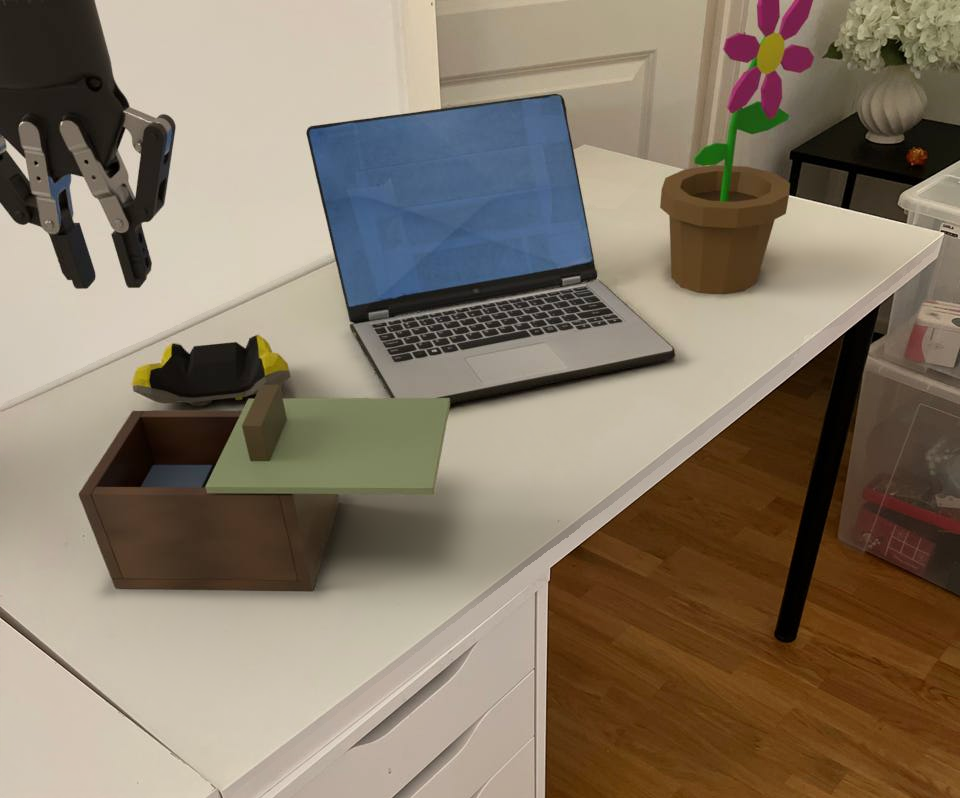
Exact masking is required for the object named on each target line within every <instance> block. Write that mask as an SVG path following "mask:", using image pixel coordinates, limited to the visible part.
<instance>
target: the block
mask: <svg viewBox="0 0 960 798" xmlns="http://www.w3.org/2000/svg"><path fill="white" fill-rule="evenodd" d="M213 470H214V469H213V465H153V466H152V468H151V470H150V471H149V473H148V475H147V477H146V478H145V480H144V482H143V484H142V485H141V487H205V486H206V484H207V482H208V480H209V478H210V476H211V474H212V472H213Z"/></svg>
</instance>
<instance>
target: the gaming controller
mask: <svg viewBox="0 0 960 798" xmlns="http://www.w3.org/2000/svg"><path fill="white" fill-rule="evenodd" d="M136 368H137V369H136V370H135V372H134V375H133V378H132V381H131V383H132V391H133V392H134V393H137V394H139V395H141V396H143V397H145V398H147V399H149V400H151V401H153V402H156V403H160V404H177V403H189V404H190V405H191V406H192V407H203V406H206V405H209V404H211V402H213V401H214V400H225V399H234V398H235V401H241V400H243V398H247V397H249V396H253V395H257V393H258V391H259V389H260V386H261V385H280V387H281V386H283V385H284V384H285V382H287V381H288V380H289V379H290V378H291V373H290V369H289V364H288V362H287V361H286V360H285V359H284V358H283V357H282V356H281V355H280V354H279V353H278V352H273V350H272V348H271V345H270V343H269V342H268V341H267V340H266V339H265V338H264V337H263V336H261V335H260V334H258V333H256V334H254V335H252V336H251V337H249V338H248V342H247V344H246V346H245V347H244V346H243V345H241V344H240V343H238V342H237V341H233V342H222V343H221V342H220V343H214V344H213V343H212V344H201V345H194V346H193V347H192V349H191V351H190V352H188V351H187V350H186V349H185V348H184V346H182V344H180V343H178V342H172V343H171V344H170V345H168V346H167V347H165V349H164V351H163V353H162V356H161V360H160V362H157V363H149V364H148V363H147V364H144V365H141V366H138V367H136Z"/></svg>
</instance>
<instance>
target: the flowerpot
mask: <svg viewBox="0 0 960 798" xmlns="http://www.w3.org/2000/svg"><path fill="white" fill-rule="evenodd" d="M813 2H814V0H794V1H793V2H792V3H791V5H790V6H789V7H788V9H787V10H786V11H785V13H784V15H782V17H781V11H780V9H781V7H780V0H757V4H756V16H757V17H756V18H757V27H758V30H760V32H761V33H762V35H763V38H762V40H761V41H760V42H759V41H758V38H757V36H755V35H751V34H745V33H741V32H737V33H735V34H732V35H731V36H729V37H727V38H725V41H724V45H723V48H722V50H723V51H724V54H726V55H727V57H728V58H729V60H731V61H736V62H740V63H746V64H749V63H750V64H749V66H748V68H747V70H745V71H744V72H743V73H742V74H741V76H740V77H739V79H737V82H736V83H735V84H734V86H733V88H731V91H730V95H729V99H728V103H727V105H726V106H727V107H726V108H727V109H728V111H729V112H730V113H731V118H730V122H729V126H728V129H727V130H728V131H727V137H726V138H727V139H726V143H724V142H723V143H722V142H714V143H712V144H708V145H706V146H704V147H702V149H701V150H700V151H699V152H697V154H696V155H695V156H694V159H693V161H694V163H693V164H695V165H699V166H700V167H698V166H697V167H691V168H684V169H683V170H680V171H678V172H675V173H673V174H671V175H668V176H667V177H665V178H664V181H663V184H662V185H661V186H662V187H661V190H660V191H661V193H660V204H659V208H660V209H661V210H662V211H663V212H664V213H665V214H667V215H668V216H669V219H668V220H669V247H670V248H669V249H670V276H671V277H670V278H671V279H672V281H674V282H675V283H676V284H677V285H678V286H679V287H681V288H684V289H687V290H689V291H693V292H696V293H701V294H716V295H724V294H732V293H737V292H743V291H746V290H747V289H749V288H751V287H753V286H754V285H756V284H757V282H758V279H759V275H760V272H761V269H762V266H763V262H764V259H765V255H766V251H767V248H768V244H769V242H770V237H771V234H772V231H773V227H774V224H775V220H777V219H779V218H780V217H783V216H784V215H786V214H787V210H788V203H789V198H790V189H791V188H790V187H791V182H789V181H788V180H787V179H785V178H783V177H781V176H780V175H778V174H776V173H775V172H772V171H768V170H764V169H760V168H755V167H751V166H743V165H733V164H734V156H735V150H736V149H735V148H736V141H737V134H738V133H737V132H738V131H741V132H744V133H747V134H750V135H755V134H759V133H763V132H768V131H770V130H771V129H773V128H775V127H777V126H779V125H781V124H782V123H785V122H786V121H788V120H789V117H790V114H789V113H787V112H785V111H784V110H783V109H782V108H780V107H781V102H782V99H783V80H782V78H781V77H780V75H779V73H778V71H777V68H778V67H779V65H781V67H782V69H783V70H784V71H787V72H792V73H798V74H801V73H803V72H805V71H806V70H809V69H810V68H812V65H813V62H814V59H815V56H814V54H813V53H812V51H811V50H810V48H809V47H806V46H802V45H797V44H794V43H793V44H790V45H788V46H787V47H786V48H785V41H786V40H788V39H790V38H792V37H795V36H796V35H797V34H798V33H799V31H800V30H801V28H802V27H803V25H804V24H805V23H806V22H807V20H808V18H809V17H810V13H811V10H812V6H813ZM780 18H781V22H780V26H779V30H778V33H777V32H775V30H776V28H777V25H778V22H779V20H780ZM762 74H764V75H765V76H764V78H763V81H762V84H761V87H760V101H758V100H757V101H755V102H753V103H751V104H749V105H747V104H748V103H749V102H750V101H751V99H752V98H753V96H754V95H755V93H756V92H757V91H758V89H759V86H760V81H761V77H762ZM723 161H724V164H723V165H718V164H719V163H721V162H723Z"/></svg>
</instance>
